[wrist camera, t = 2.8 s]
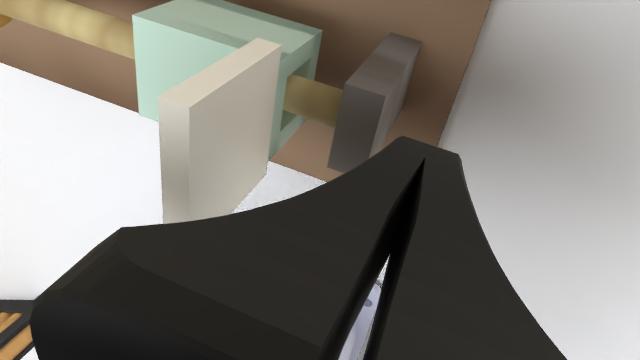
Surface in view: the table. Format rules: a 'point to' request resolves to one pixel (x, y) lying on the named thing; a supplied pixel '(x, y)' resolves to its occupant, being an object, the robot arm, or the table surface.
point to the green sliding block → (217, 97)
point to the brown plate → (301, 93)
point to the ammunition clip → (15, 329)
